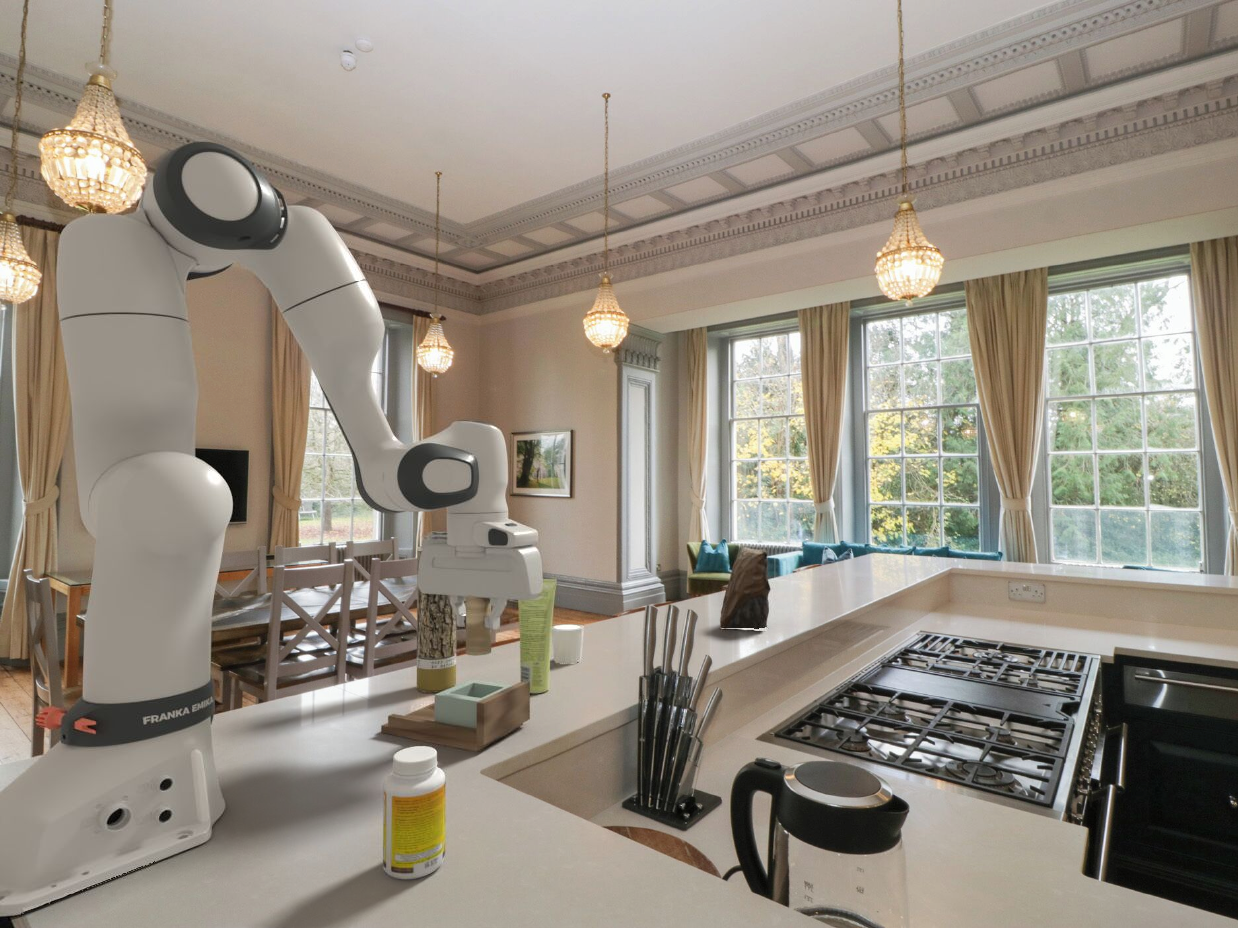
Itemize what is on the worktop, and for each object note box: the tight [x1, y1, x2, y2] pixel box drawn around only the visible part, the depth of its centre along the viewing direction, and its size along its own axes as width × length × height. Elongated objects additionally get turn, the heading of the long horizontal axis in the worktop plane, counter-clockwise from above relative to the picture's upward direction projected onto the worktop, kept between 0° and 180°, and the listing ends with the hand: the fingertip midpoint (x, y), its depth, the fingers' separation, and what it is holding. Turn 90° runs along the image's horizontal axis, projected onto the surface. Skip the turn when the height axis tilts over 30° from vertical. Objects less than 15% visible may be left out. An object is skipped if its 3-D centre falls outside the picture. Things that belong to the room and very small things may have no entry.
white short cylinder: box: [551, 623, 585, 665], centre depth 136 cm, size 7×7×7 cm
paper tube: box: [416, 546, 457, 693], centre depth 118 cm, size 7×7×25 cm
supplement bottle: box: [382, 745, 446, 880], centre depth 62 cm, size 6×6×10 cm
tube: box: [517, 578, 558, 694], centre depth 116 cm, size 6×5×20 cm
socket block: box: [434, 678, 514, 729], centre depth 96 cm, size 8×8×5 cm
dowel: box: [465, 595, 492, 657], centre depth 96 cm, size 4×4×9 cm
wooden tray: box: [380, 680, 531, 752], centre depth 97 cm, size 11×18×6 cm, turn 65°
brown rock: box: [719, 546, 771, 629], centre depth 169 cm, size 13×13×20 cm
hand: (478, 627), depth 96 cm, fingers closed on dowel, 4 cm apart
